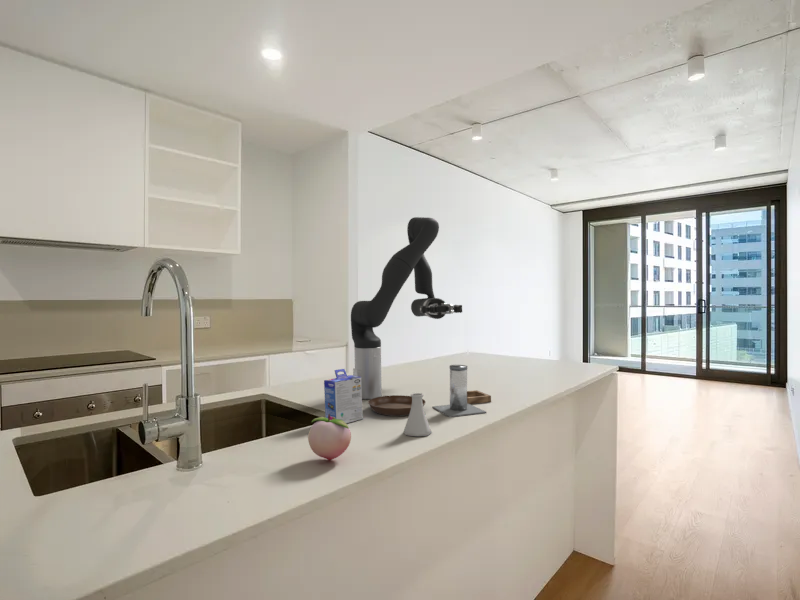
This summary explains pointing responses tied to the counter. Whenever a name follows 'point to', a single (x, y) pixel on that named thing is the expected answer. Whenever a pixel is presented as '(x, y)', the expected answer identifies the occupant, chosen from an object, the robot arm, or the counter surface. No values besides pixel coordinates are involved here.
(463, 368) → the canister
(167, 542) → the counter surface
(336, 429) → the decorative fruit
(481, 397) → the pocket frame
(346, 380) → the ink cartridge box
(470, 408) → the rubber mat
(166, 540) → the counter surface
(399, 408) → the plant saucer
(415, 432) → the flask
